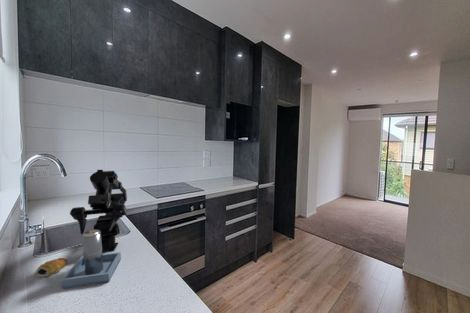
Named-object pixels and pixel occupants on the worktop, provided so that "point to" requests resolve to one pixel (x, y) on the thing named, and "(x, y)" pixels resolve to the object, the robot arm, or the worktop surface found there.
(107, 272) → the bin
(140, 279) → the worktop surface
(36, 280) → the worktop surface
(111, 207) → the robot arm
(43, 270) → the pastry
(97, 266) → the canister
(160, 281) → the worktop surface
